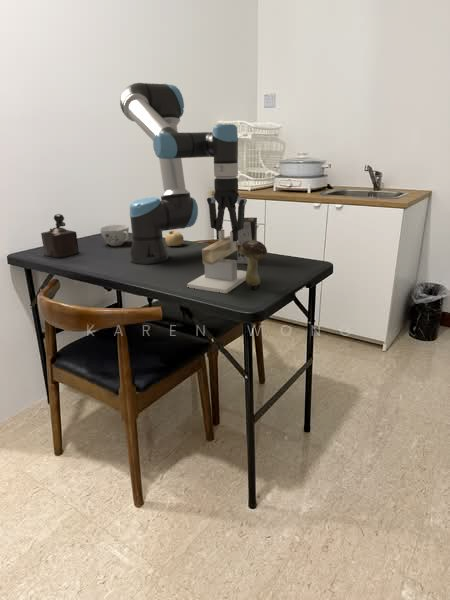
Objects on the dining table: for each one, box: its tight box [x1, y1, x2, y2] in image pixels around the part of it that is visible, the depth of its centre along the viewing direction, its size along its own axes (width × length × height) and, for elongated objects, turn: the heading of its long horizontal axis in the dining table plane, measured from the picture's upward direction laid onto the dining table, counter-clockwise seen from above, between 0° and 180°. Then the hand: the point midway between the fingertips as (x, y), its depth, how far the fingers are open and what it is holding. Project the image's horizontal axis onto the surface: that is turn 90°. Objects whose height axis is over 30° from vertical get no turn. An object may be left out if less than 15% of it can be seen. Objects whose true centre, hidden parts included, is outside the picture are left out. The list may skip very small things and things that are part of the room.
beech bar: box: [201, 235, 238, 265], centre depth 135 cm, size 4×18×4 cm, turn 153°
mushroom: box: [240, 240, 268, 290], centre depth 129 cm, size 9×9×15 cm
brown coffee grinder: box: [40, 213, 80, 259], centre depth 172 cm, size 16×11×18 cm
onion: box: [164, 230, 184, 247], centre depth 186 cm, size 8×8×7 cm
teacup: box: [99, 224, 130, 247], centre depth 189 cm, size 15×12×8 cm
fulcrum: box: [186, 258, 247, 294], centre depth 138 cm, size 14×20×7 cm
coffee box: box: [237, 217, 258, 265], centre depth 159 cm, size 9×6×16 cm
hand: (227, 249), depth 140 cm, fingers closed on beech bar, 3 cm apart
